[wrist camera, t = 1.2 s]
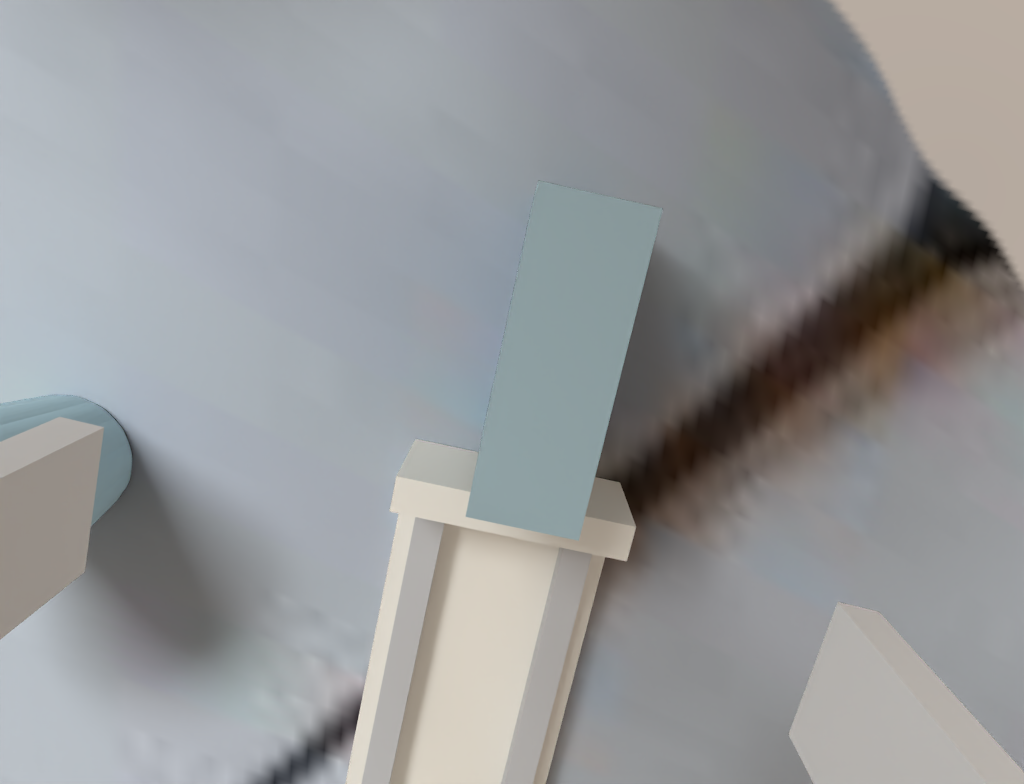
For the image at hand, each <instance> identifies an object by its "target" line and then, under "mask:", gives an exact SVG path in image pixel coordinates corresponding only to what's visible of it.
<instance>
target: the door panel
mask: <svg viewBox="0 0 1024 784" xmlns="http://www.w3.org/2000/svg"><path fill="white" fill-rule="evenodd" d="M662 210H663V208H659V207H655V206H650V205H646V204H641V203H637V202H633V201H628V200H624V199H619V198H615V197H610V196H606V195H601V194H597V193H593V192H588V191H584V190H579V189H575V188H570V187H566V186H561V185H557V184H552V183H548V182H544V181H538V184H537V187H536V190H535V193H534V197H533V202H532V207H531V211H530V216H529V220H528V225H527V230H526V234H525V239H524V244H523V248H522V253H521V257H520V262H519V267H518V271H517V276H516V280H515V285H514V290H513V294H512V299H511V303H510V308H509V313H508V317H507V322H506V327H505V331H504V336H503V340H502V345H501V350H500V354H499V359H498V363H497V368H496V373H495V377H494V382H493V386H492V391H491V396H490V400H489V405H488V409H487V414H486V419H485V423H484V428H483V433H482V438H481V443H480V448H479V452H478V457H477V462H476V467H475V472H474V477H473V482H472V487H471V492H470V497H469V502H468V507H467V512H466V517H469V518H473V519H478V520H483V521H488V522H492V523H497V524H502V525H507V526H511V527H516V528H521V529H525V530H530V531H535V532H540V533H544V534H549V535H554V536H559V537H563V538H568V539H573V540H578V541H579V538H580V534H581V530H582V526H583V522H584V518H585V514H586V510H587V507H588V503H589V499H590V495H591V491H592V487H593V483H594V479H595V475H596V471H597V467H598V463H599V459H600V455H601V451H602V447H603V443H604V439H605V435H606V431H607V428H608V424H609V420H610V416H611V412H612V408H613V404H614V400H615V396H616V392H617V388H618V384H619V380H620V376H621V372H622V368H623V364H624V360H625V356H626V352H627V349H628V345H629V341H630V337H631V333H632V329H633V325H634V321H635V317H636V313H637V309H638V305H639V301H640V297H641V293H642V289H643V285H644V281H645V277H646V273H647V270H648V266H649V262H650V258H651V254H652V250H653V246H654V242H655V238H656V234H657V230H658V226H659V222H660V218H661V214H662Z"/></svg>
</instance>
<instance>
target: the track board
mask: <svg viewBox="0 0 1024 784" xmlns="http://www.w3.org/2000/svg"><path fill="white" fill-rule="evenodd" d="M477 457H478V452H475V451H471V450H466V449H461V448H457V447H452V446H447V445H442V444H438V443H433V442H428V441H424V440H419V439H415V441H414V443H413V445H412V447H411V448H410V450H409V452H408V454H407V456H406V458H405V460H404V462H403V464H402V466H401V468H400V470H399V472H398V474H397V476H396V481H395V486H394V491H393V496H392V501H391V506H390V512H394V513H399V514H398V519H397V525H396V530H395V535H394V540H393V545H392V550H391V555H390V560H389V565H388V570H387V575H386V580H385V585H384V591H383V596H382V601H381V606H380V611H379V616H378V621H377V626H376V631H375V636H374V641H373V646H372V651H371V657H370V662H369V667H368V672H367V677H366V682H365V687H364V692H363V697H362V702H361V707H360V712H359V717H358V723H357V728H356V733H355V738H354V743H353V748H352V753H351V758H350V763H349V768H348V773H347V778H346V783H345V784H546V780H547V777H548V773H549V769H550V765H551V761H552V758H553V754H554V750H555V746H556V742H557V739H558V735H559V731H560V727H561V723H562V720H563V716H564V712H565V708H566V704H567V700H568V697H569V693H570V689H571V685H572V681H573V678H574V674H575V670H576V666H577V662H578V659H579V655H580V651H581V647H582V643H583V640H584V636H585V632H586V628H587V624H588V620H589V617H590V613H591V609H592V605H593V601H594V598H595V594H596V590H597V586H598V582H599V579H600V575H601V571H602V567H603V563H604V560H605V557H608V558H613V559H617V560H622V561H627V559H628V555H629V551H630V548H631V544H632V540H633V537H634V533H635V529H636V525H635V523H634V520H633V517H632V514H631V512H630V509H629V506H628V503H627V501H626V498H625V495H624V492H623V490H622V487H621V484H620V482H616V481H611V480H606V479H602V478H597V477H595V479H594V483H593V487H592V491H591V495H590V499H589V503H588V507H587V510H586V514H585V518H584V522H583V526H582V530H581V534H580V538H579V541H578V540H573V539H568V538H563V537H559V536H554V535H549V534H544V533H540V532H535V531H530V530H525V529H521V528H516V527H511V526H507V525H502V524H497V523H492V522H488V521H483V520H478V519H473V518H469V517H466V512H467V507H468V502H469V497H470V492H471V487H472V482H473V477H474V472H475V467H476V462H477Z"/></svg>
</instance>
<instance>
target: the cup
mask: <svg viewBox="0 0 1024 784" xmlns="http://www.w3.org/2000/svg"><path fill="white" fill-rule="evenodd" d="M58 417H63V418H67V419H72V420H76V421H80V422H84V423H88V424H93V425H97V426H101V427H104V432H103V440H102V447H101V455H100V462H99V470H98V477H97V485H96V492H95V500H94V507H93V515H92V522H91V526H92V525H93V524H94V523H95V522H96V521H97V520H98V519H99V518H100V517H101V516H102V515H103V514H104V513H105V512H106V511H107V510H108V509H109V508H110V507H111V506H112V505H113V504H114V503H115V502H116V501H117V500H118V499H119V497H120V496H121V494H122V492H123V491H124V490H125V489H126V487H127V485H128V483H129V480H130V477H131V469H132V453H131V449H130V445H129V442H128V440H127V437H126V435H125V433H124V431H123V429H122V428H121V426H120V425H119V424H118V423H117V421H116V420H115V419H114V418H113V417H112V416H111V415H110V414H109V413H108V412H107V411H106V410H105V409H103V408H102V407H100V406H99V405H97V404H95V403H93V402H90V401H88V400H86V399H84V398H81V397H77V396H73V395H48V396H41V397H36V398H30V399H24V400H18V401H13V402H7V403H2V404H0V442H1V441H3V440H6V439H8V438H10V437H13V436H15V435H18V434H20V433H22V432H25V431H27V430H29V429H32V428H34V427H37V426H39V425H41V424H44V423H46V422H48V421H51V420H53V419H55V418H58Z"/></svg>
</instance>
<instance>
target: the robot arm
mask: <svg viewBox="0 0 1024 784" xmlns="http://www.w3.org/2000/svg"><path fill="white" fill-rule="evenodd" d="M103 432H104V427H101V426H97V425H93V424H88V423H84V422H80V421H76V420H72V419H67V418H63V417H58V418H55V419H53V420H51V421H48V422H46V423H44V424H41V425H39V426H37V427H34V428H32V429H29V430H27V431H25V432H22V433H20V434H18V435H15V436H13V437H10V438H8V439H6V440H3V441H1V442H0V639H1V638H3V637H4V636H5V635H6V634H8V633H9V632H10V631H11V630H13V629H14V628H15V627H16V626H18V625H19V624H20V623H21V622H23V621H24V620H25V619H26V618H28V617H29V616H30V615H31V614H33V613H34V612H35V611H36V610H38V609H39V608H40V607H41V606H43V605H44V604H45V603H46V602H48V601H49V600H50V599H51V598H53V597H54V596H55V595H56V594H58V593H59V592H60V591H61V590H63V589H64V588H65V587H67V586H68V585H69V584H70V583H72V582H73V581H74V580H75V579H77V578H78V577H79V576H80V575H82V574H83V573H84V572H85V567H86V559H87V552H88V544H89V537H90V529H91V522H92V515H93V507H94V500H95V492H96V485H97V477H98V470H99V462H100V455H101V447H102V440H103ZM788 735H789V736H790V738H791V740H792V742H793V744H794V746H795V748H796V750H797V752H798V754H799V756H800V758H801V760H802V762H803V764H804V766H805V768H806V770H807V772H808V774H809V776H810V777H811V779H812V781H813V783H814V784H1024V772H1023V771H1022V769H1021V768H1020V767H1019V766H1018V765H1017V764H1016V763H1015V762H1014V761H1013V759H1012V758H1011V757H1010V756H1009V755H1008V754H1007V753H1006V752H1005V751H1004V750H1003V748H1002V747H1001V746H1000V745H999V744H998V743H997V742H996V741H995V740H994V738H993V737H992V736H991V735H990V734H989V733H988V732H987V731H986V730H985V728H984V727H983V726H982V725H981V724H980V723H979V722H978V721H977V720H976V719H975V717H974V716H973V715H972V714H971V713H970V712H969V711H968V710H967V709H966V707H965V706H964V705H963V704H962V703H961V702H960V701H959V700H958V699H957V698H956V696H955V695H954V694H953V693H952V692H951V691H950V690H949V689H948V688H947V686H946V685H945V684H944V683H943V682H942V681H941V680H940V679H939V678H938V676H937V675H936V674H935V673H934V672H933V671H932V670H931V669H930V668H929V667H928V665H927V664H926V663H925V662H924V661H923V660H922V659H921V658H920V657H919V655H918V654H917V653H916V652H915V651H914V650H913V649H912V648H911V647H910V646H909V644H908V643H907V642H906V641H905V640H904V639H903V638H902V637H901V636H900V634H899V633H898V632H897V631H896V630H895V629H894V628H893V627H892V626H891V624H890V623H889V622H888V621H887V620H886V619H885V618H884V617H883V616H882V615H881V613H880V612H878V611H874V610H870V609H865V608H861V607H857V606H853V605H849V604H844V603H840V602H838V603H837V605H836V608H835V611H834V613H833V616H832V619H831V621H830V624H829V627H828V629H827V632H826V635H825V637H824V640H823V643H822V645H821V648H820V651H819V654H818V656H817V659H816V662H815V664H814V667H813V670H812V672H811V675H810V678H809V680H808V683H807V686H806V688H805V691H804V694H803V697H802V699H801V702H800V705H799V707H798V710H797V713H796V715H795V718H794V721H793V723H792V726H791V729H790V731H789V734H788Z"/></svg>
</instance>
